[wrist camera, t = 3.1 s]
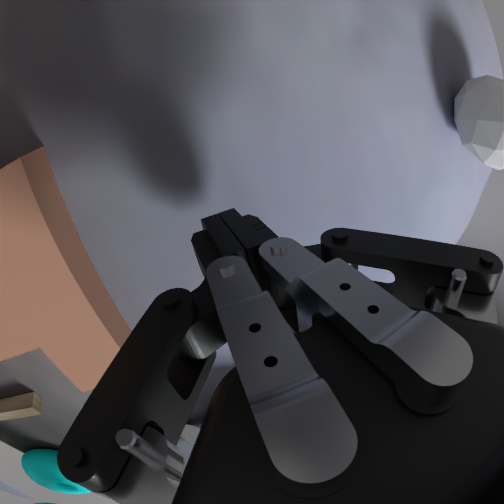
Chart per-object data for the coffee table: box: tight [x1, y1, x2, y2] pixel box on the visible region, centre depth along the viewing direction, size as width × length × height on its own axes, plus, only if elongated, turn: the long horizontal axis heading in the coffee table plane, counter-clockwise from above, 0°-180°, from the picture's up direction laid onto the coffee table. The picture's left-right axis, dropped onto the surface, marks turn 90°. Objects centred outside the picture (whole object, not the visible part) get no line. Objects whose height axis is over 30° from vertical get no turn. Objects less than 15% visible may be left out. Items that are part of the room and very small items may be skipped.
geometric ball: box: [454, 75, 504, 170], centre depth 14 cm, size 8×8×8 cm
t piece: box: [0, 146, 132, 392], centre depth 10 cm, size 12×12×3 cm
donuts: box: [22, 449, 91, 504], centre depth 16 cm, size 10×10×10 cm
